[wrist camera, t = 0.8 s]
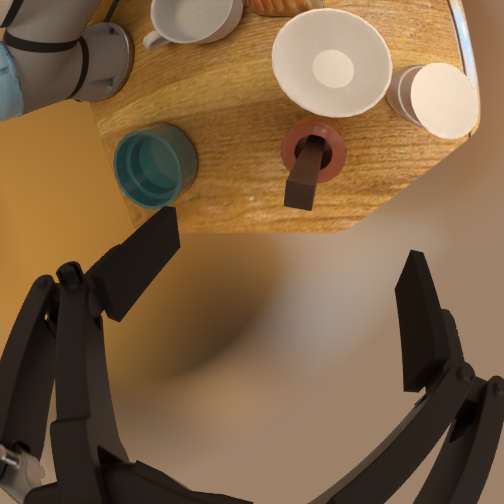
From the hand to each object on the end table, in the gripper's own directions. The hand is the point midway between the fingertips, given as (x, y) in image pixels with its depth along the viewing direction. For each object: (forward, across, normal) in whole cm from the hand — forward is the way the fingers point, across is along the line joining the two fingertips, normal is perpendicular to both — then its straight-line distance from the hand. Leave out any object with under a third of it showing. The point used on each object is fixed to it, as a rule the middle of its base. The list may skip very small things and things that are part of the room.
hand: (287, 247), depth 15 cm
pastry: (+27, -5, +21) cm, 34 cm away
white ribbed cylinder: (+27, +11, +10) cm, 30 cm away
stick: (+26, 0, +1) cm, 26 cm away
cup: (+27, +1, +11) cm, 29 cm away
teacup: (+27, -17, +18) cm, 36 cm away
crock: (+26, 0, +1) cm, 27 cm away
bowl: (+26, -24, -5) cm, 36 cm away
